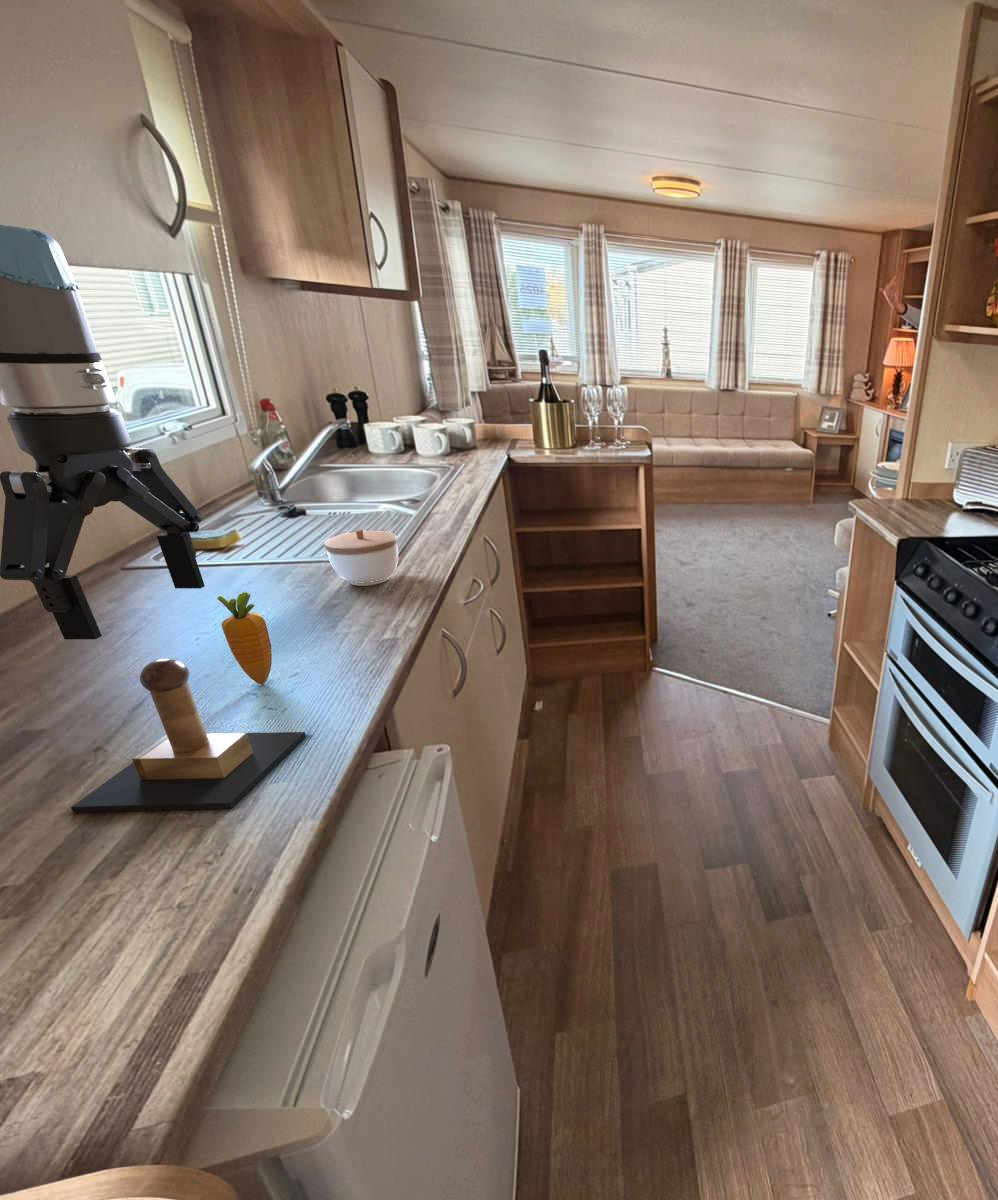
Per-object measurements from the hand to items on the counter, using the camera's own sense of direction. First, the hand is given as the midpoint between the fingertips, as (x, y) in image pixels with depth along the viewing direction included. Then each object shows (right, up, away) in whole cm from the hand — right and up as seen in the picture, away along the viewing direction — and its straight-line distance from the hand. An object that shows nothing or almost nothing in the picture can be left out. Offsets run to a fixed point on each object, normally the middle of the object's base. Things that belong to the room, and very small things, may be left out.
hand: (141, 610), depth 69 cm
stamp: (-1, -19, +8) cm, 21 cm away
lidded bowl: (-20, +5, +67) cm, 70 cm away
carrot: (-10, -12, +27) cm, 31 cm away
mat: (-1, -20, +8) cm, 22 cm away
